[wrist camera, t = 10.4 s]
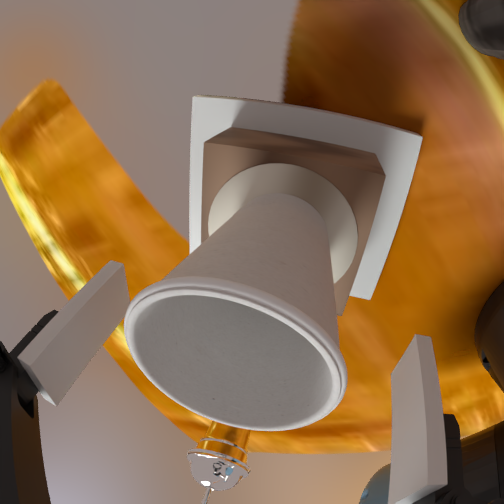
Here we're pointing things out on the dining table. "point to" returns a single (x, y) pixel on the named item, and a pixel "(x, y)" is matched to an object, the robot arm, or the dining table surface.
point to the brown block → (296, 188)
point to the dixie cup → (247, 321)
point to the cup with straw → (220, 458)
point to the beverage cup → (484, 26)
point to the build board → (321, 129)
